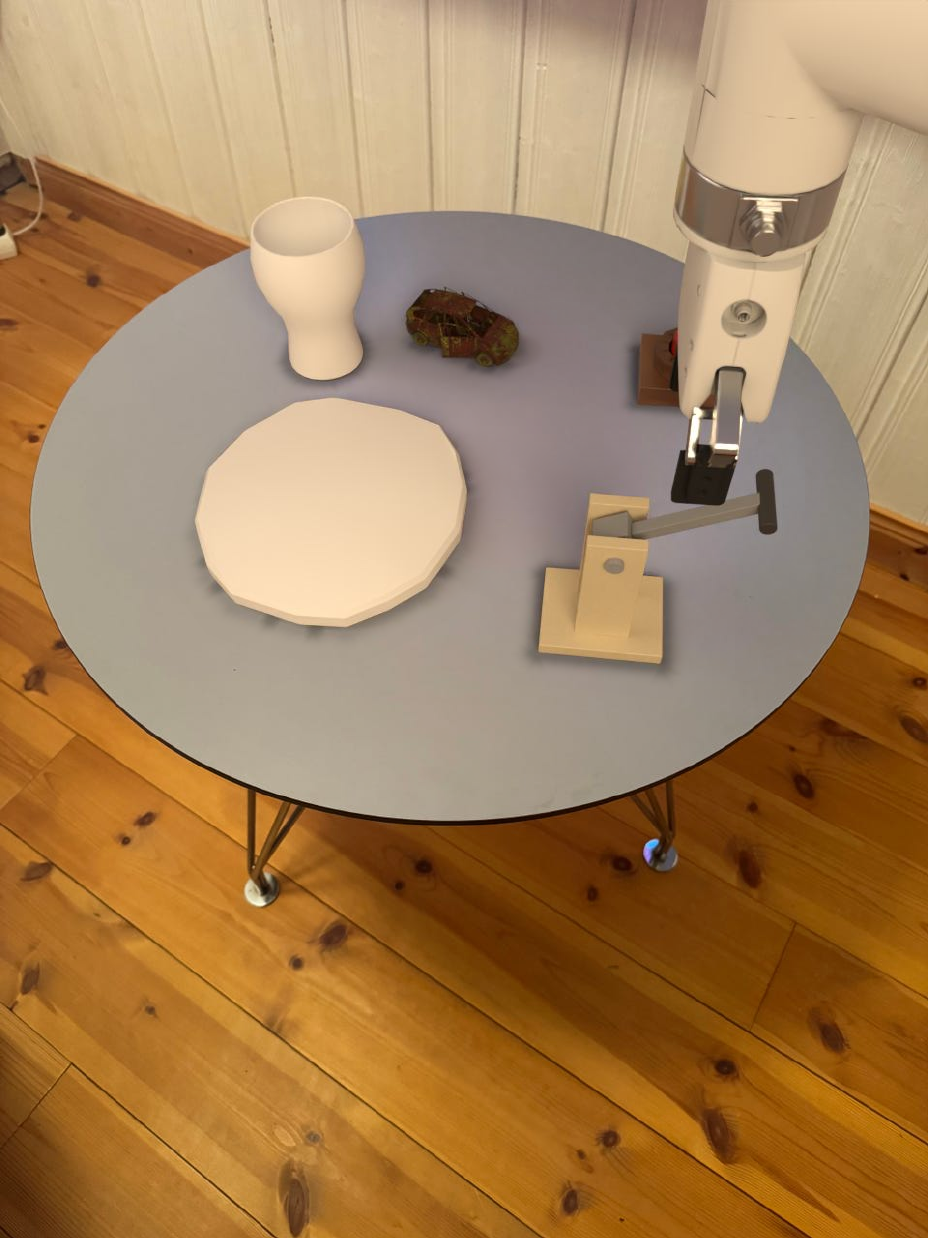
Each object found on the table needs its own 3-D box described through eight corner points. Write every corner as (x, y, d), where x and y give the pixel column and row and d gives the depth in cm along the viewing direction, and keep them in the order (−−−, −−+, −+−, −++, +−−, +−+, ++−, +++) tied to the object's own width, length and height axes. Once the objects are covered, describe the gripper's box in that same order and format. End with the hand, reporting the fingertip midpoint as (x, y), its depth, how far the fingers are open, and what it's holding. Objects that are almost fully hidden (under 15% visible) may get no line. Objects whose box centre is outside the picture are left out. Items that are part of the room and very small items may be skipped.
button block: (726, 355, 95) (735, 324, 92) (729, 410, 91) (738, 379, 88) (639, 350, 96) (644, 318, 93) (637, 404, 92) (643, 372, 88)
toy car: (396, 348, 97) (392, 310, 93) (427, 309, 100) (425, 270, 96) (499, 382, 94) (499, 344, 90) (527, 341, 97) (529, 302, 93)
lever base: (661, 584, 80) (687, 485, 69) (660, 664, 75) (688, 570, 65) (545, 574, 80) (554, 474, 70) (538, 652, 76) (546, 558, 65)
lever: (777, 483, 65) (768, 461, 64) (781, 538, 63) (772, 516, 61) (605, 524, 72) (593, 505, 70) (603, 576, 69) (590, 557, 67)
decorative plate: (259, 361, 90) (502, 415, 85) (268, 393, 94) (501, 446, 89) (131, 556, 77) (408, 631, 73) (147, 584, 81) (412, 658, 76)
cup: (255, 367, 96) (220, 238, 83) (316, 310, 101) (291, 180, 88) (337, 404, 93) (314, 275, 80) (396, 343, 98) (383, 212, 85)
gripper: (858, 307, 39) (763, 554, 53) (819, 96, 49) (747, 354, 63) (679, 299, 40) (632, 545, 54) (675, 93, 49) (636, 348, 64)
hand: (694, 442), depth 58 cm, fingers open, 9 cm apart
